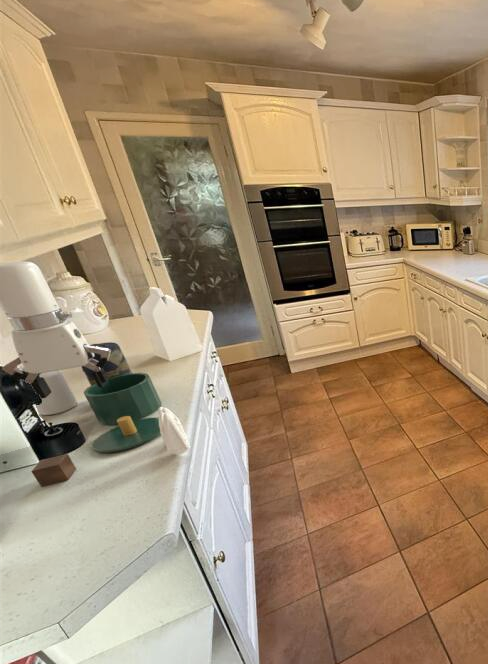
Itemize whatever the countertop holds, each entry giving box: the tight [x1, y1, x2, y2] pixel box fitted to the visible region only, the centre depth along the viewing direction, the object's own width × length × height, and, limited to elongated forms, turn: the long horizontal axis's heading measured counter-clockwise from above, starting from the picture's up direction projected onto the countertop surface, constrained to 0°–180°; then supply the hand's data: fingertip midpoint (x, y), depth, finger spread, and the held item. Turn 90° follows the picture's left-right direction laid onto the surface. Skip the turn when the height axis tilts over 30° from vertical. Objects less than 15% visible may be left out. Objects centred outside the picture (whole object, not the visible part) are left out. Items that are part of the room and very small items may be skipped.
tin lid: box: [91, 416, 161, 453], centre depth 102 cm, size 15×15×6 cm
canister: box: [80, 341, 133, 386], centre depth 120 cm, size 10×10×18 cm
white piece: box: [157, 406, 191, 456], centre depth 97 cm, size 12×4×11 cm, turn 45°
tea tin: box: [83, 372, 162, 427], centre depth 113 cm, size 14×14×10 cm
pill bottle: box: [20, 364, 78, 416], centre depth 114 cm, size 8×8×15 cm
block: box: [31, 453, 77, 488], centre depth 89 cm, size 4×4×4 cm
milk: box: [139, 286, 205, 362], centre depth 150 cm, size 12×12×26 cm
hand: (75, 390), depth 91 cm, fingers open, 9 cm apart
